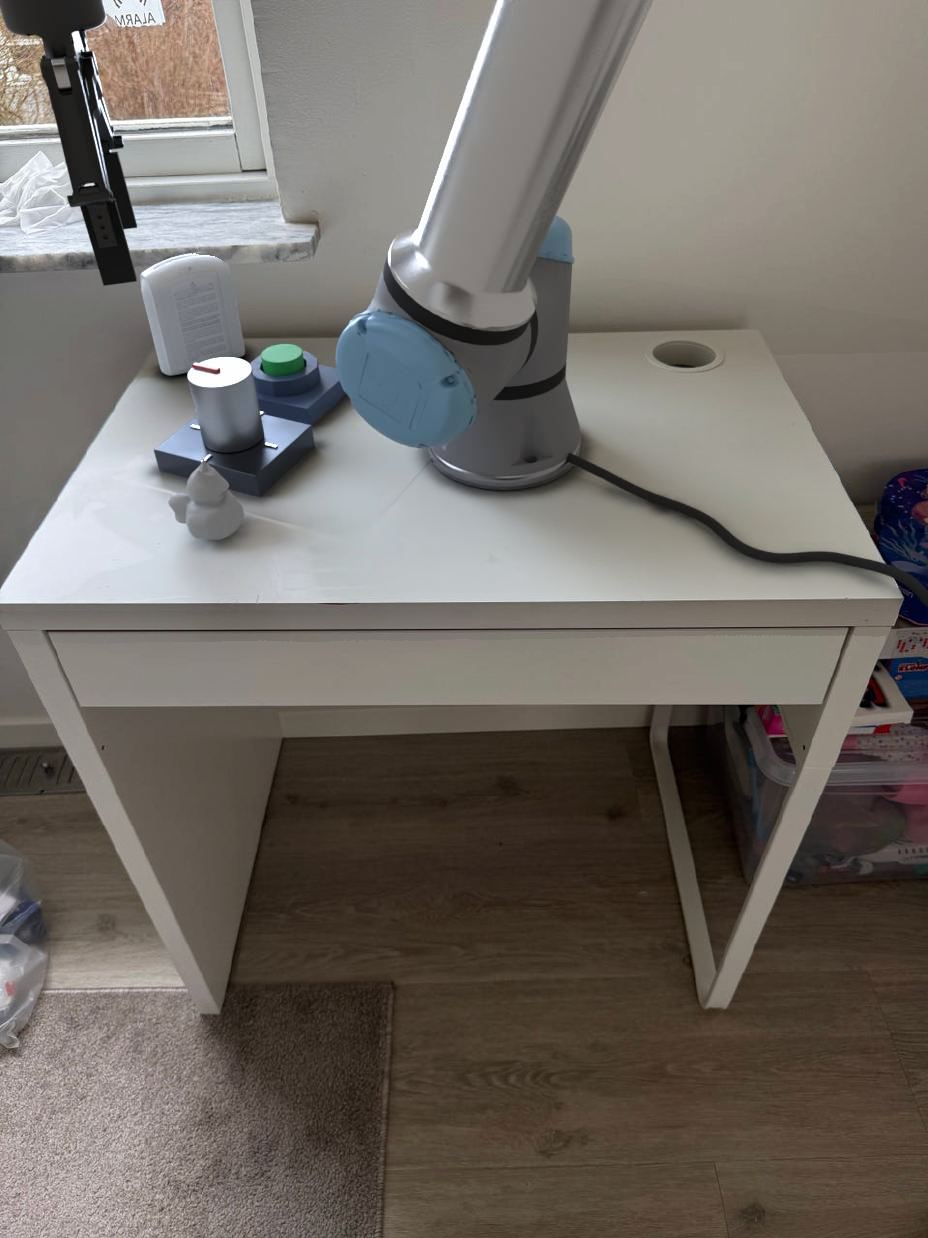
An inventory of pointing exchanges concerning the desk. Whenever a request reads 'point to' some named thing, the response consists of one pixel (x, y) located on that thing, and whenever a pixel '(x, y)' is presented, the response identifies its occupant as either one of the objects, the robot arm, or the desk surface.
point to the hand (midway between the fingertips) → (121, 253)
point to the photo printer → (191, 311)
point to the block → (298, 391)
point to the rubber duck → (207, 505)
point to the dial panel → (239, 455)
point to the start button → (282, 360)
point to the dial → (226, 404)
